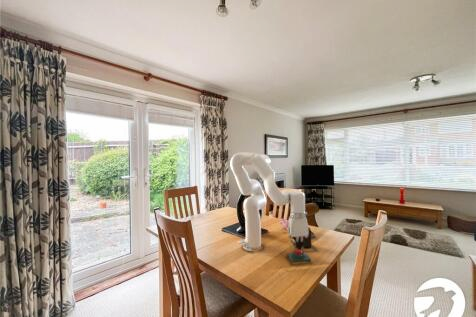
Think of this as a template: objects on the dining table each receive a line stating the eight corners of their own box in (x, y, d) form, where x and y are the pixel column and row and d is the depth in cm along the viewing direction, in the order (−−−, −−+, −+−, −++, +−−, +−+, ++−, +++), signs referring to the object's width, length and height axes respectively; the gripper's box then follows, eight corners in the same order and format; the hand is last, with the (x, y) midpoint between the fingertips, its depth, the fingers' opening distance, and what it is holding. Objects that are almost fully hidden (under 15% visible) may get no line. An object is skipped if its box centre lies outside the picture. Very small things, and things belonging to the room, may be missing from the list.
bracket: (300, 252, 117) (300, 232, 117) (295, 246, 125) (295, 227, 125) (317, 251, 119) (316, 231, 118) (310, 245, 127) (310, 226, 126)
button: (296, 255, 107) (296, 252, 107) (293, 252, 110) (293, 249, 110) (303, 254, 107) (302, 251, 107) (300, 251, 111) (300, 248, 111)
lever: (295, 246, 119) (292, 243, 118) (291, 243, 124) (289, 240, 123) (310, 233, 120) (308, 230, 119) (306, 230, 125) (304, 227, 124)
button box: (292, 264, 104) (292, 257, 104) (286, 257, 112) (286, 250, 112) (310, 263, 106) (310, 255, 105) (304, 255, 113) (303, 248, 113)
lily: (297, 235, 145) (298, 221, 149) (284, 231, 141) (286, 217, 145) (286, 234, 155) (287, 222, 159) (274, 231, 151) (276, 218, 155)
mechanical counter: (311, 225, 147) (298, 222, 147) (319, 229, 134) (304, 226, 134) (309, 234, 146) (296, 232, 146) (317, 240, 134) (302, 237, 133)
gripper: (307, 212, 113) (308, 244, 113) (282, 213, 111) (283, 246, 111) (314, 215, 106) (315, 250, 106) (287, 217, 104) (288, 253, 104)
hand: (298, 248), depth 109 cm, fingers closed
